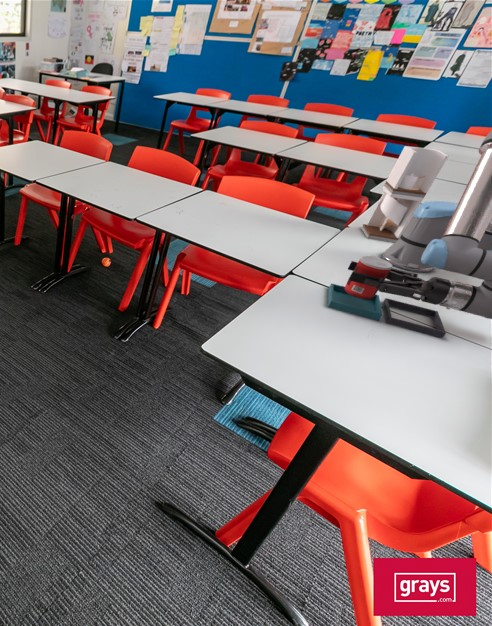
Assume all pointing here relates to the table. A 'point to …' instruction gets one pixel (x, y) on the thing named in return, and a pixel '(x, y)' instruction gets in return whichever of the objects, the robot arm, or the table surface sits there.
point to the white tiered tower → (404, 192)
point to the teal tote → (354, 303)
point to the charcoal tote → (415, 327)
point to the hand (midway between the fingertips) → (350, 270)
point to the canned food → (368, 267)
